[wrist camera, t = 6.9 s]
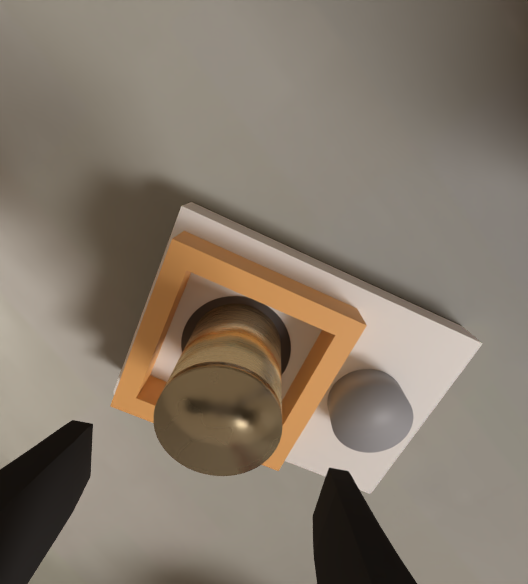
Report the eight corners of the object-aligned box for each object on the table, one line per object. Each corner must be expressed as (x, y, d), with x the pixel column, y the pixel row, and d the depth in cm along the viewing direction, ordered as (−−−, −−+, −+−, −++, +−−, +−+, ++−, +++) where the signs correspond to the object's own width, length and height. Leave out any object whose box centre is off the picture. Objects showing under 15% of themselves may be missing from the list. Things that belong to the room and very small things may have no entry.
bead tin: (288, 311, 17) (293, 381, 12) (272, 389, 19) (270, 484, 13) (196, 296, 17) (157, 359, 12) (188, 375, 19) (150, 465, 13)
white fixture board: (462, 326, 20) (507, 364, 16) (362, 467, 23) (379, 526, 19) (191, 202, 18) (168, 210, 14) (127, 373, 21) (94, 417, 17)
